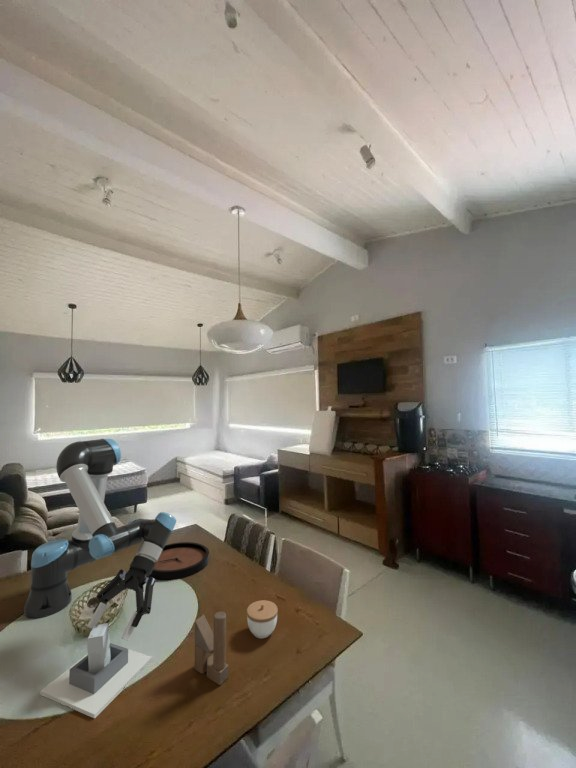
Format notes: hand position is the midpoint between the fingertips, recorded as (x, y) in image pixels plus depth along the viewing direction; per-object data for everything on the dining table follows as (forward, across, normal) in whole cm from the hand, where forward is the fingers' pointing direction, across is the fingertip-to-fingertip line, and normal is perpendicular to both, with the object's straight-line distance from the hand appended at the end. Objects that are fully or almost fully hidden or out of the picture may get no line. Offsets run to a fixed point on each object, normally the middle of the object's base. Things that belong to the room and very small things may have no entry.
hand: (107, 633), depth 98 cm
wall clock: (-34, +24, -52) cm, 67 cm away
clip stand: (+9, +1, -7) cm, 11 cm away
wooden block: (0, -29, -16) cm, 33 cm away
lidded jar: (-14, -36, -30) cm, 49 cm away
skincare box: (+8, 0, -6) cm, 10 cm away
